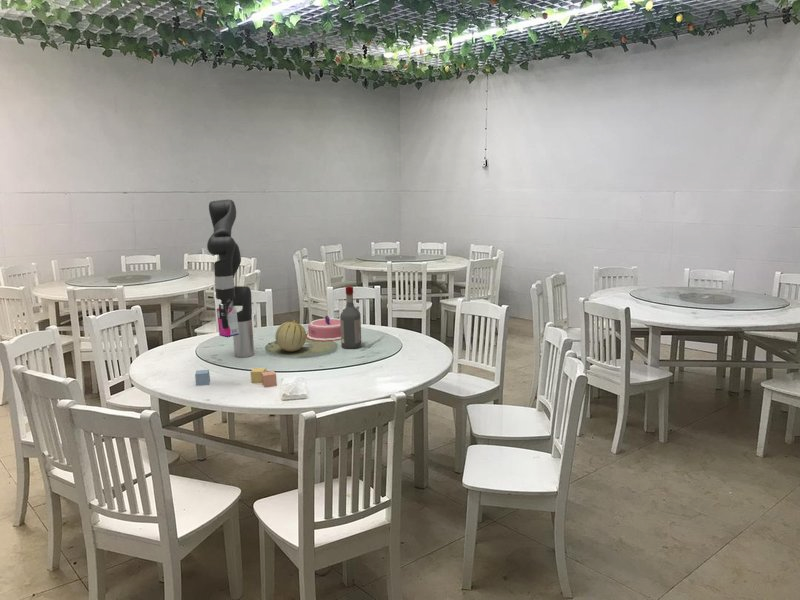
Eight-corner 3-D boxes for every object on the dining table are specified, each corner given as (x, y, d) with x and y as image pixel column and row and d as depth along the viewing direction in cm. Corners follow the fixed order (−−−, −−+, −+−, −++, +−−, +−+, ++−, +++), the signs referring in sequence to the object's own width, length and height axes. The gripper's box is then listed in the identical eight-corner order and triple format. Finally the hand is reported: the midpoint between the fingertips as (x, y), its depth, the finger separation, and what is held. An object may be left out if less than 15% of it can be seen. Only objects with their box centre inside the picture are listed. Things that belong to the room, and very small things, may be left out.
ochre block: (255, 379, 253) (254, 367, 252) (266, 379, 252) (266, 367, 251) (251, 383, 248) (250, 371, 247) (263, 383, 247) (262, 371, 246)
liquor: (362, 344, 303) (360, 285, 297) (359, 349, 294) (356, 288, 288) (344, 344, 304) (341, 285, 298) (340, 349, 295) (338, 288, 289)
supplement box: (230, 332, 250) (228, 305, 247) (239, 334, 246) (237, 307, 244) (218, 335, 245) (216, 308, 243) (227, 337, 242) (224, 310, 239)
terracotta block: (262, 383, 247) (261, 372, 246) (274, 382, 249) (273, 370, 248) (264, 387, 242) (263, 375, 241) (276, 385, 244) (276, 374, 243)
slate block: (197, 382, 251) (196, 370, 250) (209, 380, 252) (208, 369, 251) (196, 385, 246) (195, 374, 245) (208, 384, 247) (207, 373, 246)
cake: (301, 332, 330) (300, 313, 328) (345, 328, 338) (345, 309, 336) (309, 343, 307) (308, 323, 305) (357, 338, 314) (356, 319, 312)
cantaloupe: (271, 354, 288) (269, 324, 285) (284, 346, 302) (282, 317, 299) (299, 355, 285) (298, 325, 282) (311, 347, 299) (310, 318, 296)
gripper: (219, 283, 249) (222, 322, 252) (210, 290, 235) (214, 330, 238) (238, 283, 249) (240, 321, 252) (230, 289, 235) (233, 329, 238)
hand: (227, 325), depth 245 cm, fingers closed on supplement box, 8 cm apart
